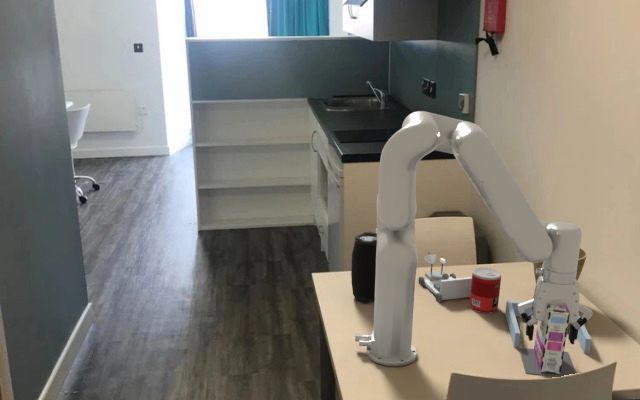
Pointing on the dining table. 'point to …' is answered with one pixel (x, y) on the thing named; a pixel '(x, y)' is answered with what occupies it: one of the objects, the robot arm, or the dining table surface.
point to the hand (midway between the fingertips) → (550, 339)
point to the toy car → (445, 282)
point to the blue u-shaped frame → (513, 311)
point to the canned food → (485, 290)
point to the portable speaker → (364, 267)
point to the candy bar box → (552, 339)
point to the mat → (533, 367)
